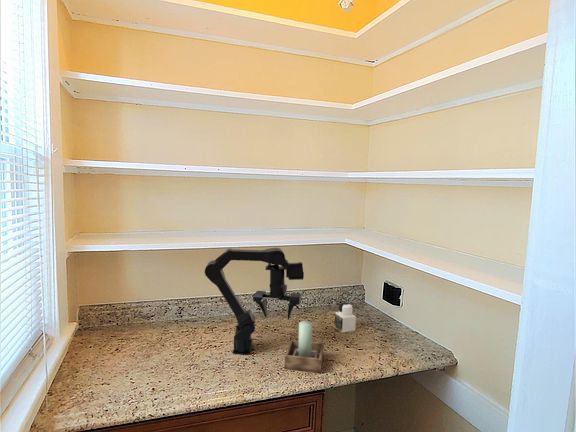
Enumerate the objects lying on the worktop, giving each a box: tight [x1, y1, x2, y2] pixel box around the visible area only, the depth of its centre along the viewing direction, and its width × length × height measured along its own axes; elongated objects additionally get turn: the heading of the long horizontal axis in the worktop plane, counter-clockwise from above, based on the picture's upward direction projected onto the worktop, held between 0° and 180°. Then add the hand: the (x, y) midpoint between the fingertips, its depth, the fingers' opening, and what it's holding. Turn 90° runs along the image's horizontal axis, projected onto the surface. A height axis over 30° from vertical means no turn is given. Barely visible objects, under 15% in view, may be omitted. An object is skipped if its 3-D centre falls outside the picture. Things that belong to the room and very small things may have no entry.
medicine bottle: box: [334, 302, 357, 334], centre depth 161 cm, size 7×7×12 cm
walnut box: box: [284, 339, 325, 374], centre depth 131 cm, size 13×13×5 cm
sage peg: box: [298, 320, 313, 358], centre depth 131 cm, size 5×5×14 cm
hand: (277, 318), depth 140 cm, fingers open, 9 cm apart
